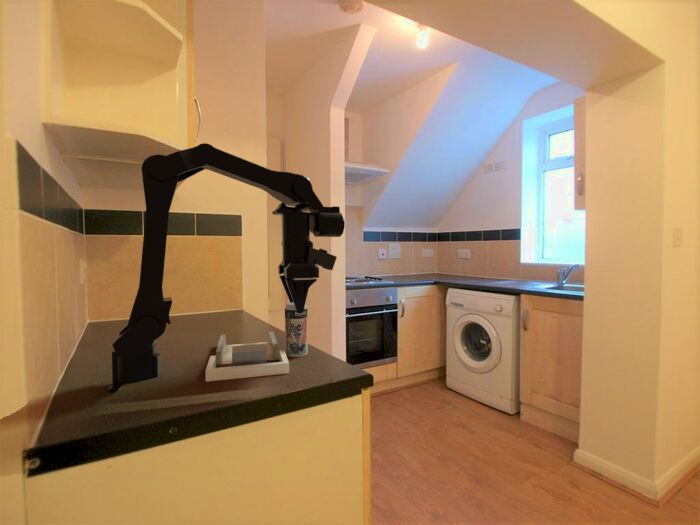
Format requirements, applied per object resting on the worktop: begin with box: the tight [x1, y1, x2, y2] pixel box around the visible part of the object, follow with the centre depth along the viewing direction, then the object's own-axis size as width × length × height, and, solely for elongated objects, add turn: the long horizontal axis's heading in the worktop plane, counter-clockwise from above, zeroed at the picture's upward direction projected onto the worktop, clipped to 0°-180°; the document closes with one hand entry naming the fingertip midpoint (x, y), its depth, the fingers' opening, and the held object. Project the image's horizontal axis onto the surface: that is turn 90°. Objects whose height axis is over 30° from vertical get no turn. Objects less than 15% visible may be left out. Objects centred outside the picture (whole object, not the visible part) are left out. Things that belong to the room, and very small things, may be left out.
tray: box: [205, 349, 290, 382], centre depth 66 cm, size 14×9×3 cm, turn 106°
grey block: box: [231, 344, 268, 366], centre depth 66 cm, size 6×5×4 cm
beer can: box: [284, 302, 309, 358], centre depth 76 cm, size 5×5×12 cm
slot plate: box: [215, 331, 280, 366], centre depth 78 cm, size 12×15×4 cm
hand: (297, 309), depth 76 cm, fingers open, 9 cm apart
